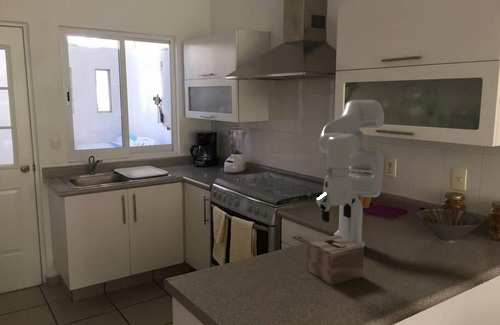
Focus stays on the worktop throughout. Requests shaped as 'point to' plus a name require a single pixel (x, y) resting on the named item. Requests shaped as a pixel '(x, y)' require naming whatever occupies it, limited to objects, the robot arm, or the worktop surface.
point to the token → (337, 245)
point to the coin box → (335, 259)
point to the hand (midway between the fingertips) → (336, 219)
